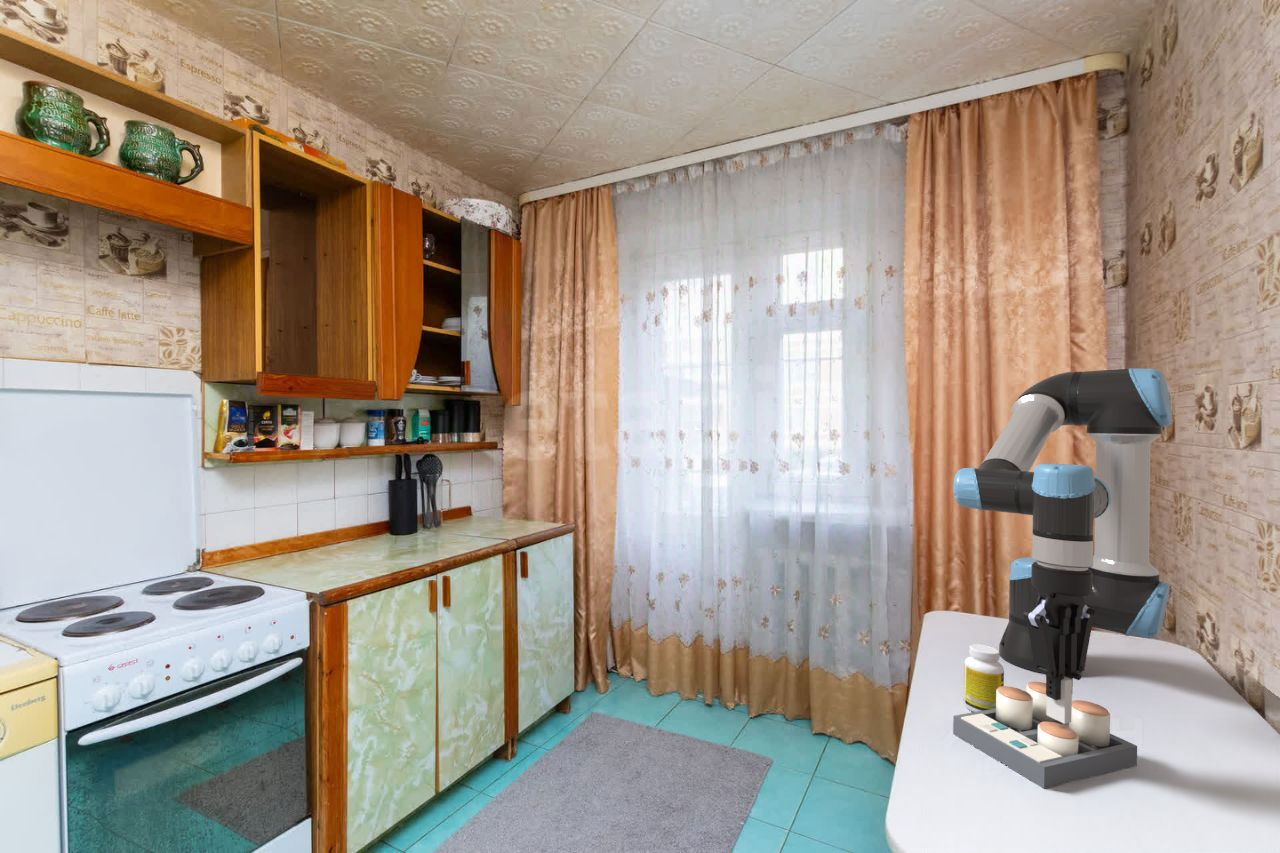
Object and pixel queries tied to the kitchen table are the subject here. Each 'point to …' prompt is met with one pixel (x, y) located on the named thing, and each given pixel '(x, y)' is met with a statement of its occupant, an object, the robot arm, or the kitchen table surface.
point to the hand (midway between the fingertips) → (1058, 718)
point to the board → (1041, 751)
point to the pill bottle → (982, 678)
